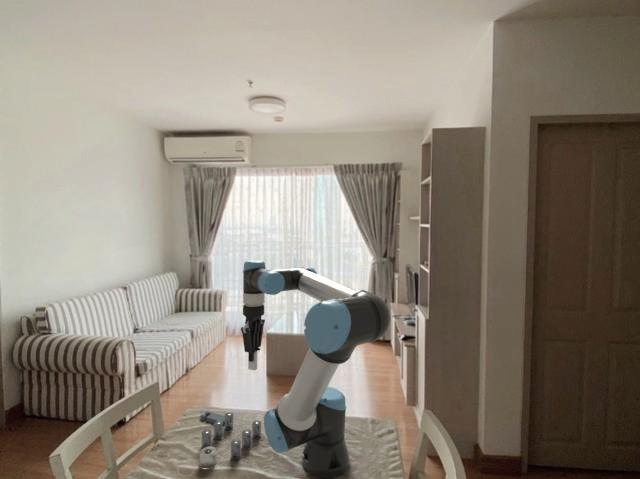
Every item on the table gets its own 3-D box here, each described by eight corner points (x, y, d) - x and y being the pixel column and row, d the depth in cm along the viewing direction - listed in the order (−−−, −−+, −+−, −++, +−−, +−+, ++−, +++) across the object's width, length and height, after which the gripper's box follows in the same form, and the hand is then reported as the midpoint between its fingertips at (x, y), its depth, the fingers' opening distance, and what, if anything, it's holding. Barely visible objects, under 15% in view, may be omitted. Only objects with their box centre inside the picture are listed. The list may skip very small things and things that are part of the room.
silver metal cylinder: (219, 460, 112) (219, 448, 112) (209, 471, 107) (209, 458, 107) (206, 456, 114) (206, 444, 113) (196, 466, 109) (196, 454, 109)
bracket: (222, 427, 130) (222, 422, 130) (199, 420, 134) (200, 415, 134) (228, 422, 134) (228, 416, 134) (206, 415, 138) (207, 410, 138)
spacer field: (262, 435, 125) (262, 421, 125) (236, 461, 112) (236, 446, 111) (228, 424, 131) (228, 411, 131) (199, 447, 118) (199, 433, 117)
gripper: (253, 299, 132) (252, 360, 133) (234, 307, 120) (233, 374, 121) (271, 301, 129) (270, 363, 131) (253, 309, 117) (252, 378, 118)
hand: (252, 368), depth 126 cm, fingers closed
